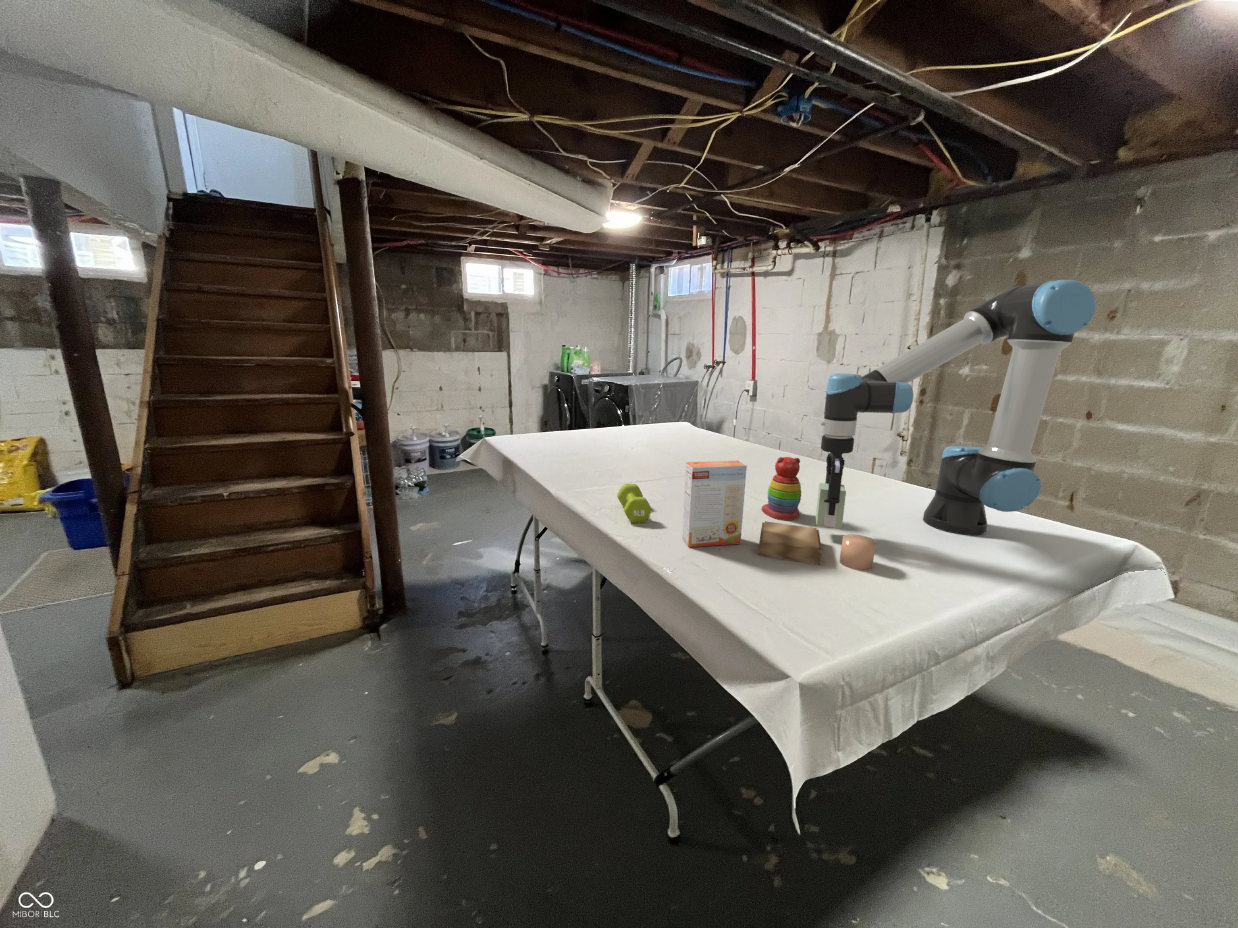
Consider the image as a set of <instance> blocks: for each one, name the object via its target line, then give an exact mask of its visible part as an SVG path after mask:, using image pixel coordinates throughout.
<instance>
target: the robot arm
mask: <svg viewBox="0 0 1238 928" xmlns="http://www.w3.org/2000/svg"><path fill="white" fill-rule="evenodd" d="M1096 308H1097V300H1096V297H1095V295H1094V292H1093V291H1092V290H1091V289H1090V287H1089V286H1088V285H1087V284H1085V283H1084V282H1081V281H1078V280H1075V279H1055V280H1054V279H1053V280H1052V279H1051V280H1049V281H1043V282H1038V283H1031V284H1023V285H1018V286H1017V285H1016V286H1015V287H1011V288H1010V289H1007V290H1005V291H1003V292H1000V293H999V294H997V295H996V296H994V297H992V298H990V299H988V300H987V301H985V302H983V303H982V304H980V305H978V306H975V307H974V308H973V309H971V310H970V311H967V312H966V313H965V314H964V316H963V319H961V320H959V321H958V322H956V323H954V324H953V325H951V326H949V327H948V328H945V329H944V330H942V331H941V332H938V333H936V334H935V335H933V336H931V337H930V338H928V339H926V340H925V341H922V342H921V343H919V344H918V345H915V346H914V347H913V348H910V349H909V350H907V351H905V352H904V353H902V354H899V355H898V356H896V357H895V358H893V359H891V360H889V361H888V362H886V363H884V364H882V365H881V366H879V367H877V368H875V369H873V370H872V371H869V372H868V373H866V374H865V375H863V376H862V375H861V374H859V373H842V372H841V373H832V374H831V375H830V376H829V377H828V380H827V385H826V391H825V404H824V405H825V406H824V416H823V417H824V419H823V421H821V422H820V425H821V427H822V433H823V435H822V436H821V442H820V449H821V450H822V451H823V452H826V453H828V454H827V456H826V459H825V461H826V467H825V469H826V472H825V473H826V474H825V482H824V483H827V484H829V486H828V499H827V500H824V502H826V509H825V518H824V526H823V527H825V526H831V527H830V528H834V527H835V525H836V516H837V508H838V503H839V502H840V500H839V498H840V489H841V485H842V481H843V480H842V478H843V471H844V466H845V459H844V457H843V454H851V453H853V450H854V445H855V444H854V443H855V437H854V436H855V435H856V431H857V430H856V429H857V421H858V413H863V414H864V413H873V414H874V413H875V414H876V413H877V414H878V413H880V414H884V413H885V414H897V413H899V414H900V413H901V414H902V413H906V412H908V411H909V410H910V408H911V406H912V405H913V401H914V391H913V387H912V385H911V384H910V382H913V381H915V380H916V379H918V378H919V377H922V376H923V375H925V374H927V373H929V372H931V371H933V370H934V369H936V368H938V367H940V366H942V365H944V364H945V363H947V362H949V361H951V360H953V359H954V358H956V357H958V356H960V355H962V354H963V353H966V352H967V351H969V350H970V349H973V348H975V347H976V346H978V345H980V344H982V345H988V344H990V343H992V342H994V341H995V340H998V339H1000V338H1004V337H1007V340H1006V341H1007V343H1008V344H1009V345H1010V346H1011V347H1012V353H1011V356H1010V361H1009V363H1008V366H1007V371H1006V373H1005V378H1004V382H1003V385H1002V389H1001V392H1000V393H1001V394H1000V396H999V401H998V404H997V409H996V411H995V415H994V418H993V423H992V426H991V430H990V434H989V437H988V441H987V445H986V446H984V447H982V446H981V447H979V446H966V445H964V446H962V445H960V446H959V445H950V446H947V447H945V448H944V450H943V452H942V456H941V459H940V460H941V461H940V462H941V463H940V466H939V472H938V475H937V476H938V477H937V482H936V487H935V492H934V496H933V498H932V499H931V500H930V502H929V503H928V506H927V507H926V508H925V510H924V512H923V516H922V521H923V522H924V523H926V524H927V525H929V526H930V527H934V528H936V529H938V530H940V531H941V530H942V531H945V532H948V533H955V534H960V535H967V534H979V535H983V534H985V533H986V532H987V528H988V521H987V514H986V509H985V507H987V508H990V509H993V510H996V511H999V512H1003V513H1004V512H1005V513H1011V512H1017V511H1020V510H1023V509H1024V508H1026V507H1029V506H1030V505H1031V504H1032V503H1034V502H1035V501H1036V500H1037V498H1038V497H1039V495H1040V493H1041V490H1042V482H1041V479H1040V478H1039V475H1037V473H1036V472H1034V471H1035V468H1036V463H1037V459H1036V457H1035V456H1034V455H1033V453H1032V448H1033V445H1034V442H1035V438H1036V436H1037V431H1038V428H1039V424H1040V421H1041V418H1042V415H1043V412H1044V408H1045V404H1046V401H1047V398H1048V394H1049V391H1050V387H1051V383H1052V381H1053V380H1052V379H1053V377H1054V374H1055V370H1056V366H1057V364H1058V360H1059V357H1060V352H1061V351H1063V350H1064V349H1066V348H1068V346H1071V345H1072V344H1073V340H1074V336H1075V334H1076V333H1077V332H1079V331H1081V330H1083V329H1084V327H1085V326H1088V325H1089V324H1090V322H1091V321H1092V319H1093V317H1094V316H1095V313H1096V310H1097V309H1096ZM984 532H985V533H984ZM982 533H983V534H982Z"/></svg>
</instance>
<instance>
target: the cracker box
mask: <svg viewBox="0 0 1238 928" xmlns="http://www.w3.org/2000/svg"><path fill="white" fill-rule="evenodd" d="M747 467H748V466H747V465H746V464H744V463H743V462H741V461H739V460H714V461H713V460H712V461H710V460H709V461H708V460H707V461H686V462H685V472H684V473H685V474H684V475H685V476H684V477H685V478H684V494H683V495H684V498H683V515H682V516H683V518H682V519H683V521H682V540H683V541H684V543H685V545H687V546H688V548H694V547H696V548H697V547H712V546H727V545H740V544H741V540H742V530H743V518H744V507H745V506H744V504H745V493H746V480H747V479H746V478H747Z"/></svg>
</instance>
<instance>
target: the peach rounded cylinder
mask: <svg viewBox="0 0 1238 928" xmlns="http://www.w3.org/2000/svg"><path fill="white" fill-rule="evenodd" d="M876 547H877V542H876V540H874V539H872V538H871V537H869V536H866V535H862V534H853V533H850V534H844V535H843V536H842V542H841V548H840V554H839V555H840V556H839V559H838V560H839V563H840V564H841V565H842V566H844V567H846V568H848V569H851V570H855V571H860V572H861V571H864V572H865V571H870V570H872V569H873V564H874V559H875V553H876Z"/></svg>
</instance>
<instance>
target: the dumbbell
mask: <svg viewBox="0 0 1238 928" xmlns="http://www.w3.org/2000/svg"><path fill="white" fill-rule="evenodd" d="M616 498H617V499H618V501H619V503H620V504H621V506H622V507H623V512H624V514H625V516H626V518H627V520H628V521H629V522H630V523H631V522H632V524H638V523H639V524H640V523H641V524H642V523H645V522H646V521H647V520H648V519H649V517H650V515H651V513H652V512H653V509H652V507H651V504H650V503H649V501H648V500H647V499H646V497H645V496H644V495H643V492H642V491H641V489H640V487H639V486H638V485H637V483H624V484H622V486H621V487H620V489H619V490H618V492H617V494H616Z"/></svg>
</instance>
